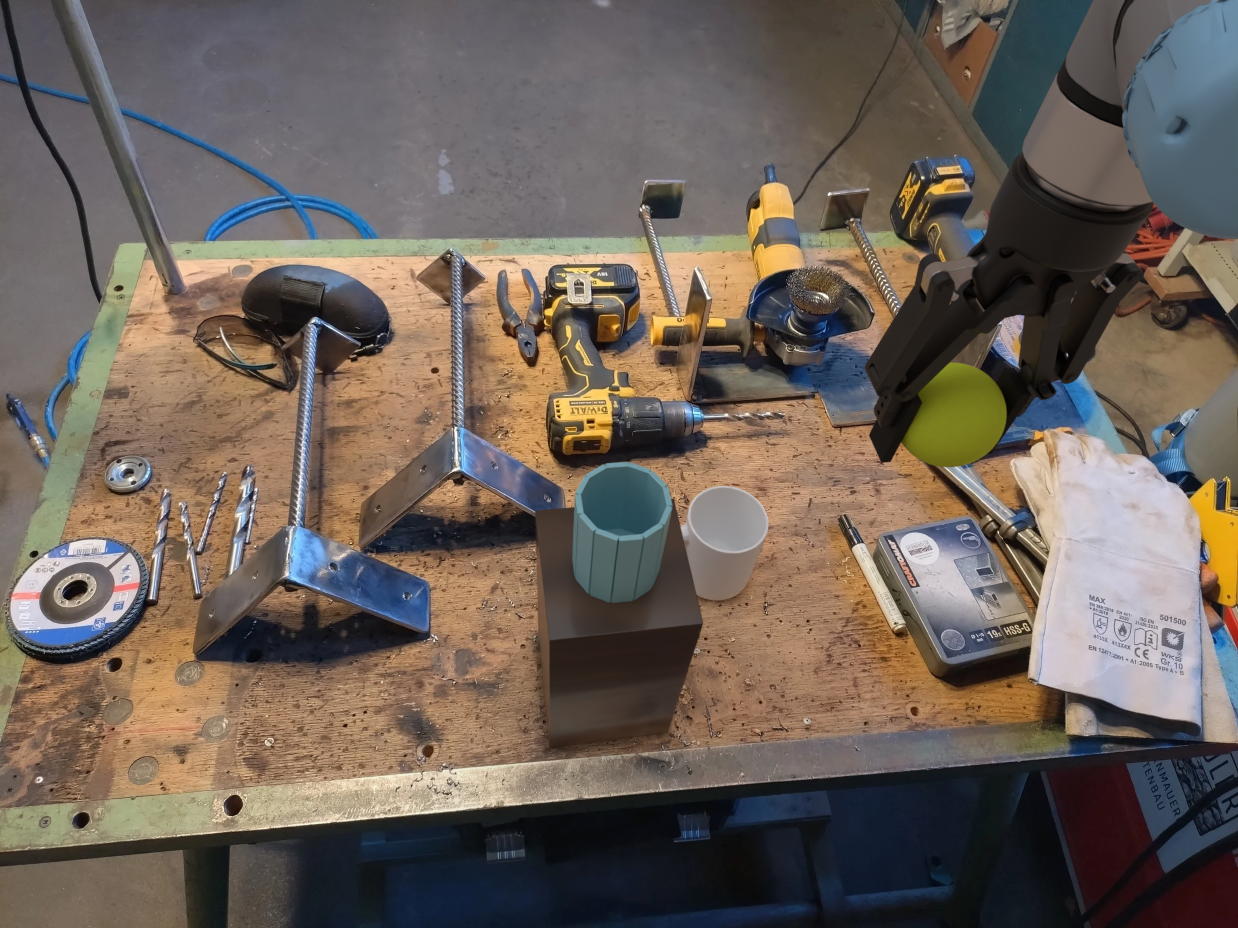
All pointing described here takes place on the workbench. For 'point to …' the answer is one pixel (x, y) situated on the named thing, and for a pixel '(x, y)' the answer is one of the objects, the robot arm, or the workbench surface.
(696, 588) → the mug
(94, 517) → the workbench surface
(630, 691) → the dark brown block
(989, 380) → the ball
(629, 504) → the tumbler
